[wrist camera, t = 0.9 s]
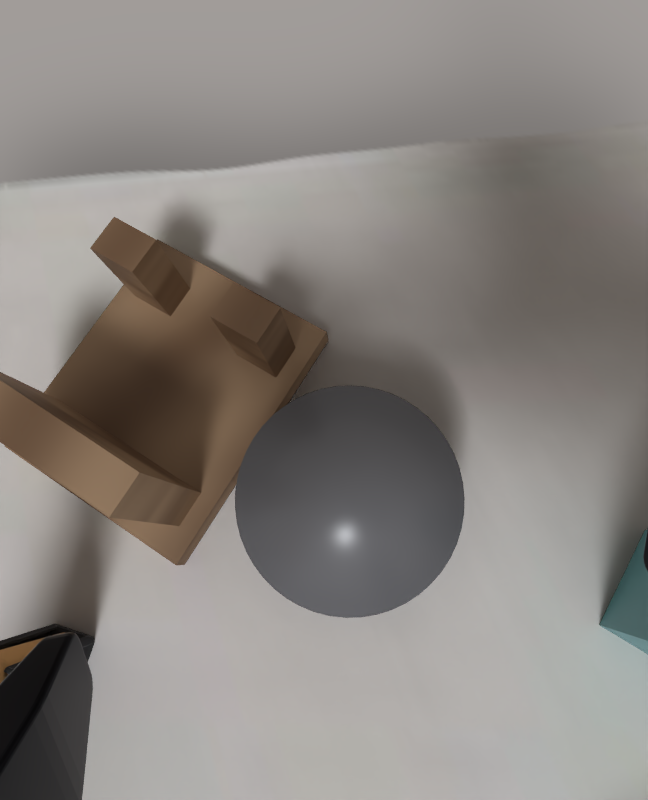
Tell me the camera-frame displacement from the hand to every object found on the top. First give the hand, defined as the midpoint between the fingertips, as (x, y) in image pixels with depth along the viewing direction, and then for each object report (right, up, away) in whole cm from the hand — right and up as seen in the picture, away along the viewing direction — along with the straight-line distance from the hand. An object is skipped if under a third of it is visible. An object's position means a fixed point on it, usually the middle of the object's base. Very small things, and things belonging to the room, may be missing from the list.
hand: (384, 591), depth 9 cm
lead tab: (+13, -3, +12) cm, 18 cm away
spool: (0, -1, +14) cm, 14 cm away
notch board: (-7, +3, +16) cm, 18 cm away
